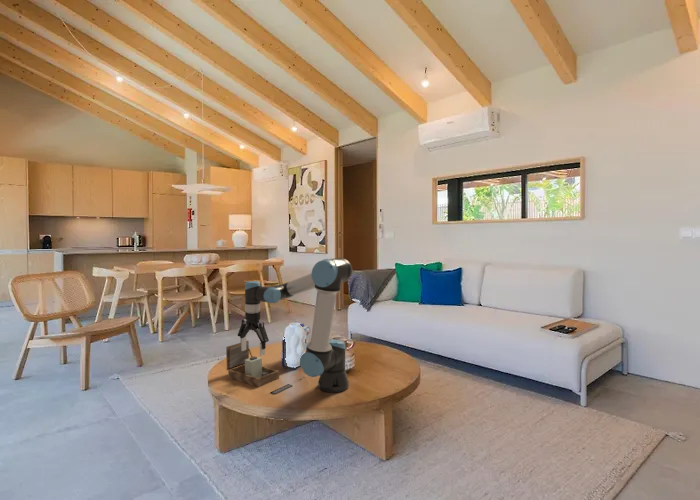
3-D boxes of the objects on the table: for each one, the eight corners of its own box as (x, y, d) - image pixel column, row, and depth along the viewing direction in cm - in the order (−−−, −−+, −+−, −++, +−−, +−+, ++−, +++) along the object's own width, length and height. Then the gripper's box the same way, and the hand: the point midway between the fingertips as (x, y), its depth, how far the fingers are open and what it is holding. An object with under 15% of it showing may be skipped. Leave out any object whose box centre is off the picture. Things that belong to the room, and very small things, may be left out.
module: (262, 377, 215) (261, 356, 214) (251, 381, 209) (251, 360, 209) (255, 375, 218) (255, 354, 217) (245, 379, 212) (244, 358, 211)
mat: (292, 386, 205) (292, 385, 205) (275, 394, 195) (275, 393, 195) (277, 382, 211) (277, 380, 211) (260, 389, 201) (260, 388, 201)
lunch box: (296, 355, 254) (295, 320, 253) (312, 356, 252) (312, 320, 251) (279, 371, 227) (279, 331, 226) (297, 372, 225) (297, 332, 224)
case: (279, 380, 213) (278, 347, 212) (258, 389, 202) (258, 354, 201) (247, 371, 226) (247, 340, 225) (226, 379, 215) (226, 346, 214)
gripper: (275, 313, 208) (275, 355, 209) (241, 307, 222) (241, 346, 223) (264, 316, 201) (264, 359, 203) (230, 309, 215) (230, 350, 217)
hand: (252, 352), depth 213 cm, fingers open, 13 cm apart
